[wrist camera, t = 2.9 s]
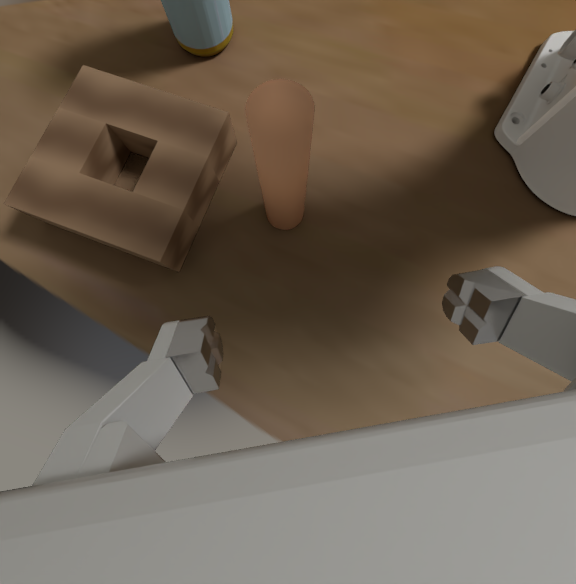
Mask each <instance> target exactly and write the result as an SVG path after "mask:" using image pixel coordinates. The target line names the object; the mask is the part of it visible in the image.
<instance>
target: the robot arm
mask: <svg viewBox="0 0 576 584" xmlns="http://www.w3.org/2000/svg"><path fill="white" fill-rule="evenodd" d="M494 134H495V137H496V139H497V140H498V142H499V143H500V144H501V145H502V146H503V147H504V148H505V149H506V150H507V151H508V152H509V153H510V154H511V156H512V157H513V159H514V161H515V164H516V166H517V169H518V171H519V173H520V175H521V177H522V179H523V180H524V182H525V183H526V184H527V186H528V187H529V188H530V189H531V190H532V192H533V193H534V194H535V195H537V196H538V197H539V198H540V199H541V200H543V201H544V202H545V203H547V204H548V205H550V206H552V207H553V208H555V209H557V210H559V211H562V212H564V213H567V214H570V215H573V216H576V30H575V31H564V32H558V33H554V34H552V35H551V36H550V37H549V38H548V39H547V40H546V41H545V42H544V43H543V44H542V45H541V47H540V49H539V50H538V52H537V54H536V56H535V58H534V59H533V61H532V63H531V65H530V67H529V68H528V70H527V72H526V74H525V76H524V77H523V79H522V81H521V83H520V85H519V87H518V88H517V90H516V92H515V94H514V96H513V97H512V99H511V101H510V103H509V105H508V106H507V108H506V110H505V112H504V114H503V115H502V117H501V119H500V121H499V123H498V124H497V126H496V128H495V131H494ZM447 286H448V288H449V289H450V290H449V291H448V292H447V293H446V294H445V295H444V297H443V301H442V306H443V311H444V313H445V315H446V317H447V318H448V319H449V320H450V321H451V322H453V323H456V324H458V325H459V331H460V332H461V333H462V334H463V335H464V336H465V337H466V338H467V339H468V341H469V342H470V343H471V344H472V345H476V344H483V343H490V342H496V341H499V343H501V344H503V345H504V346H506V347H508V348H510V349H512V350H514V351H516V352H518V353H519V354H521V355H523V356H525V357H527V358H529V359H531V360H533V361H534V362H536V363H538V364H540V365H542V366H544V367H546V368H547V369H549V370H551V371H553V372H555V373H557V374H559V375H561V376H562V377H564V378H566V379H568V380H570V381H572V382H571V383H570V384H569V385H568V386H567V387H566V389H565V390H564V392H560V393H554V394H549V395H543V396H537V397H532V398H526V399H520V400H515V401H509V402H503V403H498V404H492V405H487V406H481V407H475V408H470V409H464V410H458V411H453V412H447V413H441V414H436V415H430V416H424V417H419V418H413V419H408V420H402V421H396V422H391V423H385V424H380V425H374V426H368V427H363V428H357V429H351V430H346V431H340V432H335V433H329V434H323V435H318V436H312V437H306V438H301V439H295V440H290V441H284V442H278V443H273V444H267V445H262V446H256V447H250V448H245V449H239V450H234V451H228V452H222V453H217V454H211V455H205V456H199V457H194V458H188V459H182V460H177V461H171V462H165V461H164V460H163V459H162V458H161V457H160V456H159V455H158V454H157V453H156V452H155V450H156V448H157V447H158V445H159V444H160V443H161V441H162V440H163V438H164V437H165V435H166V434H167V432H168V431H169V430H170V428H171V427H172V425H173V424H174V422H175V421H176V420H177V418H178V417H179V415H180V413H181V412H182V411H183V409H184V408H185V407H186V405H187V404H188V402H189V401H190V399H191V398H192V396H193V394H197V393H202V392H207V391H212V390H217V389H219V386H220V378H221V370H220V368H219V364H220V363H221V362H222V361H223V344H222V340H221V337H220V335H219V333H217V332H215V331H214V330H215V322H214V320H213V318H212V317H211V316H204V317H198V318H191V319H184V320H180V321H172V322H166V323H164V324H163V325H162V327H161V329H160V331H159V334H158V336H157V338H156V341H155V343H154V345H153V348H152V350H151V353H150V355H149V357H148V360H147V361H146V362H142V363H141V364H139V365H138V366H137V367H136V368H135V369H134V370H132V371H131V372H130V373H129V374H128V375H127V376H126V377H124V378H123V379H122V380H121V381H120V382H119V383H118V384H116V385H115V386H114V387H113V388H112V389H111V390H110V391H108V392H107V393H106V394H105V395H104V396H103V397H101V398H100V399H99V400H98V401H97V402H96V403H95V404H93V405H92V406H91V407H90V408H89V409H88V410H87V411H86V412H84V413H83V414H82V415H81V416H80V417H79V418H77V419H76V420H75V421H74V422H73V423H72V424H71V425H69V426H68V427H67V428H66V429H65V431H64V432H63V434H62V436H61V437H60V439H59V441H58V442H57V444H56V446H55V448H54V450H53V451H52V453H51V455H50V456H49V458H48V460H47V461H46V463H45V465H44V467H43V468H42V470H41V472H40V474H39V475H38V477H37V478H36V480H35V482H34V483H33V485H32V486H30V487H24V488H18V489H12V490H7V491H1V492H0V584H576V300H575V299H572V298H568V297H564V296H561V295H557V294H554V293H550V292H548V293H543V292H542V291H540V290H539V289H537V288H535V287H534V286H532V285H531V284H529V283H527V282H526V281H524V280H523V279H521V278H520V277H518V276H516V275H515V274H513V273H512V272H510V271H509V270H507V269H505V268H504V267H499V266H495V267H490V268H485V269H482V270H477V271H471V272H465V273H459V274H454V275H452V276H451V277H450V278H449V280H448V283H447Z"/></svg>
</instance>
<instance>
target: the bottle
mask: <svg viewBox="0 0 576 584" xmlns="http://www.w3.org/2000/svg"><path fill="white" fill-rule="evenodd" d="M161 2H162V4H163V7H164V9H165V12H166V15H167V17H168V20H169V22H170V25H171V27H172V30H173V32H174V35H175V37H176V39H177V41H178V43H179V44H180V46H181V47H182V48H183V49H185V50H187V51H188V52H190V53H192V54H193V55H197V56H200V57H209V56H212V55H216V54H218V53H219V52H221V51H223V50H224V48H225V47H226V46H227V45H228V43H229V41H230V39H231V37H232V35H233V22H232V15H231V10H230V4H229V0H161Z"/></svg>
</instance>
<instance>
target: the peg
mask: <svg viewBox="0 0 576 584" xmlns="http://www.w3.org/2000/svg"><path fill="white" fill-rule="evenodd" d="M245 112H246V118H247V123H248V128H249V133H250V137H251V142H252V147H253V152H254V157H255V161H256V166H257V171H258V176H259V181H260V185H261V190H262V195H263V200H264V205H265V210H266V214H267V218H268V220H269V222H270V223H271V224H272V225H273V226H274V227H276V228H278V229H281V230H289V229H292V228H294V227H296V226H297V225H298V224H299V223H300V222H301V220H302V218H303V214H304V205H305V196H306V187H307V177H308V168H309V159H310V149H311V140H312V131H313V121H314V112H315V106H314V101H313V98H312V96H311V94H310V93H309V92H308V90H307V89H306V88H305V87H303V86H302V85H301V84H299V83H297V82H295V81H292V80H288V79H273V80H269V81H266V82H264V83H262V84H260V85H259V86H257V87H256V88H255V89H254V90H253V91H252V92H251V94H250V95H249V97H248V99H247V102H246V107H245Z"/></svg>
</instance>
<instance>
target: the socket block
mask: <svg viewBox="0 0 576 584" xmlns="http://www.w3.org/2000/svg"><path fill="white" fill-rule="evenodd" d="M236 144H237V140H236V136H235V132H234V129H233V125H232V122H231V118H230V115H229V112H227V111H224V110H221V109H218V108H214V107H211V106H208V105H205V104H202V103H199V102H196V101H193V100H190V99H187V98H184V97H181V96H177V95H174V94H171V93H168V92H165V91H162V90H159V89H156V88H153V87H150V86H147V85H144V84H140V83H137V82H134V81H131V80H128V79H125V78H122V77H119V76H116V75H113V74H110V73H107V72H103V71H100V70H97V69H94V68H91V67H88V66H85V65H83V66H82V67H81V69H80V71H79V73H78V74H77V76H76V78H75V80H74V81H73V83H72V85H71V87H70V88H69V90H68V92H67V94H66V95H65V97H64V99H63V101H62V102H61V104H60V106H59V108H58V109H57V111H56V113H55V115H54V116H53V118H52V120H51V122H50V123H49V125H48V127H47V129H46V130H45V132H44V134H43V136H42V137H41V139H40V141H39V143H38V144H37V146H36V148H35V150H34V151H33V153H32V155H31V157H30V158H29V160H28V162H27V163H26V165H25V167H24V169H23V170H22V172H21V174H20V176H19V177H18V179H17V181H16V183H15V184H14V186H13V188H12V190H11V191H10V193H9V195H8V197H7V198H6V200H5V202H4V204H5V205H7V206H10V207H12V208H14V209H16V210H19V211H21V212H23V213H25V214H28V215H30V216H32V217H34V218H37V219H39V220H41V221H43V222H46V223H48V224H51V225H54V226H56V227H59V228H62V229H65V230H67V231H70V232H73V233H75V234H78V235H81V236H83V237H86V238H89V239H91V240H94V241H97V242H99V243H102V244H105V245H108V246H110V247H113V248H116V249H118V250H121V251H124V252H126V253H129V254H132V255H134V256H137V257H140V258H142V259H145V260H148V261H151V262H153V263H156V264H159V265H161V266H164V267H167V268H169V269H172V270H175V271H177V272H180V269H181V267H182V265H183V263H184V260H185V258H186V256H187V254H188V251H189V249H190V247H191V245H192V242H193V240H194V238H195V236H196V233H197V231H198V229H199V227H200V224H201V222H202V220H203V218H204V215H205V213H206V211H207V209H208V206H209V204H210V202H211V200H212V197H213V195H214V193H215V191H216V189H217V186H218V184H219V182H220V180H221V177H222V175H223V173H224V171H225V168H226V166H227V164H228V162H229V159H230V157H231V155H232V153H233V150H234V148H235V146H236ZM131 152H133V153H136V154H139V155H142V156H145V157H148V158H149V160H148V162H147V164H146V166H145V168H144V170H143V172H142V174H141V176H140V178H139V180H138V182H137V184H136V186H135V188H134V190H133V192H131V191H129V190H126V189H123V188H120V187H117V186H114V184H115V182H116V180H117V178H118V176H119V174H120V172H121V170H122V168H123V166H124V164H125V162H126V161H127V159H128V157H129V155H130V153H131Z"/></svg>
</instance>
